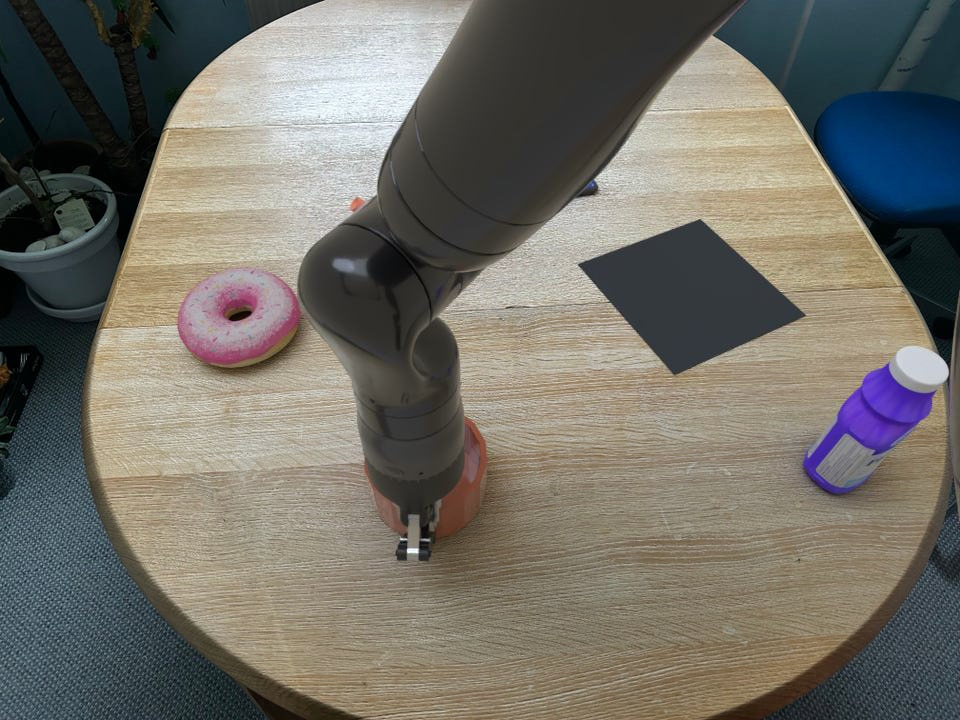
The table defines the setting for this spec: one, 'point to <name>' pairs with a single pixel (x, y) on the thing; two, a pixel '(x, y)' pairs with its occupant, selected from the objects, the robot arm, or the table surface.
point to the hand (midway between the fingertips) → (424, 532)
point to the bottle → (875, 419)
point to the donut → (238, 340)
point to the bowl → (459, 501)
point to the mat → (689, 294)
